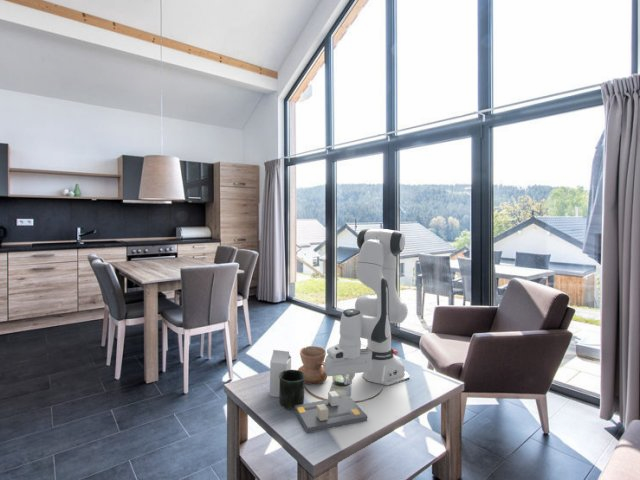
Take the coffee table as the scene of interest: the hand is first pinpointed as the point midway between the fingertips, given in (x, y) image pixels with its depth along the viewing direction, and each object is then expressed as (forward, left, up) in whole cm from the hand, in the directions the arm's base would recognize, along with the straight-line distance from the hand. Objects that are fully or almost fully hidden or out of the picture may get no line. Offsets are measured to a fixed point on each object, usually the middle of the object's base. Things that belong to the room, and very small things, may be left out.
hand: (347, 383), depth 152 cm
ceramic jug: (+5, -27, -10) cm, 29 cm away
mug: (+21, -11, -10) cm, 26 cm away
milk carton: (+23, -19, -10) cm, 31 cm away
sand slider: (+14, +7, -8) cm, 18 cm away
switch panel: (+9, +3, -10) cm, 14 cm away
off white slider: (+6, 0, -8) cm, 10 cm away
